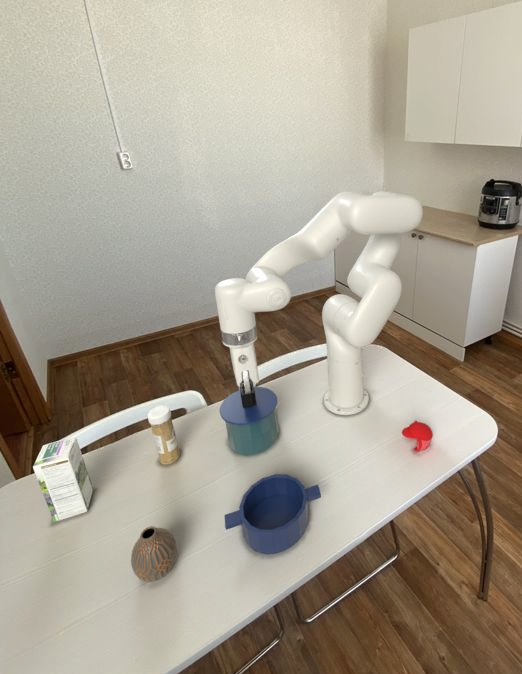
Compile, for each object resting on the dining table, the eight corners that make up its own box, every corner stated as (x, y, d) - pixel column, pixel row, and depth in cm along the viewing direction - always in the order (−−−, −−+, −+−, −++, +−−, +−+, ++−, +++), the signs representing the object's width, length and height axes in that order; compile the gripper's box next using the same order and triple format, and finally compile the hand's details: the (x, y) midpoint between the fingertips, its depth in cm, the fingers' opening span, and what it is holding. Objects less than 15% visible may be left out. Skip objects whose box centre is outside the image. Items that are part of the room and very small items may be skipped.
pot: (247, 415, 102) (243, 387, 99) (287, 425, 99) (284, 396, 96) (218, 448, 92) (212, 418, 89) (261, 460, 88) (257, 429, 85)
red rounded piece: (419, 430, 96) (420, 410, 94) (437, 443, 92) (438, 423, 90) (396, 445, 92) (396, 425, 90) (414, 460, 87) (415, 439, 85)
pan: (226, 509, 77) (222, 489, 75) (313, 482, 82) (311, 462, 81) (230, 571, 66) (225, 549, 64) (329, 534, 72) (328, 513, 70)
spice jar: (182, 459, 89) (171, 412, 84) (160, 468, 86) (148, 420, 82) (178, 447, 92) (168, 401, 88) (158, 455, 90) (145, 409, 85)
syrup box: (62, 499, 79) (40, 444, 74) (95, 489, 82) (76, 435, 77) (53, 523, 75) (29, 466, 69) (89, 511, 77) (68, 456, 72)
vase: (134, 597, 62) (121, 561, 59) (138, 557, 68) (127, 522, 65) (180, 578, 65) (170, 543, 62) (180, 541, 71) (171, 507, 68)
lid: (219, 397, 96) (215, 375, 93) (273, 385, 100) (270, 364, 98) (221, 434, 84) (217, 409, 82) (282, 418, 88) (279, 394, 86)
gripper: (261, 347, 79) (269, 419, 86) (252, 315, 93) (260, 379, 100) (223, 355, 77) (234, 428, 83) (220, 321, 91) (230, 385, 97)
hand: (248, 400), depth 91 cm, fingers closed on lid, 2 cm apart
